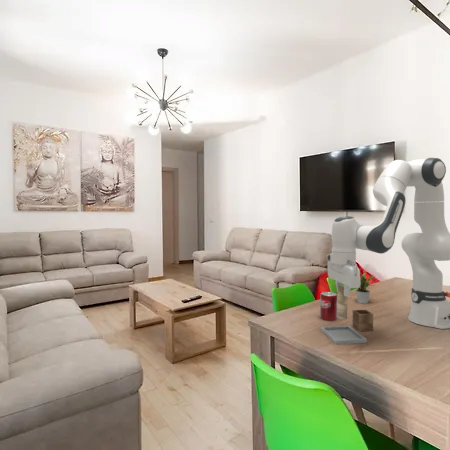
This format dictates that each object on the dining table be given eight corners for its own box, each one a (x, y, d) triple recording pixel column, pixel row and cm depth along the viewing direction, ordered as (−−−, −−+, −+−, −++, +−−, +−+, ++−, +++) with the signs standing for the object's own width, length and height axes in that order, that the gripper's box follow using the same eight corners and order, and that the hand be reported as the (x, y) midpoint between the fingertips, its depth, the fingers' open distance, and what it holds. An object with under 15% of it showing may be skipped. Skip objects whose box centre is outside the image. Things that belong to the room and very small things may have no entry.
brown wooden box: (365, 326, 136) (365, 309, 135) (373, 332, 130) (373, 313, 129) (352, 327, 135) (352, 310, 135) (359, 332, 129) (359, 314, 129)
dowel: (344, 316, 126) (345, 286, 125) (348, 319, 122) (349, 288, 122) (335, 316, 126) (336, 286, 125) (339, 319, 122) (340, 288, 121)
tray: (348, 330, 132) (348, 325, 132) (366, 344, 118) (367, 339, 118) (320, 331, 131) (320, 326, 131) (335, 346, 117) (335, 340, 117)
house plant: (384, 306, 163) (384, 275, 162) (356, 306, 163) (357, 275, 162) (372, 299, 177) (372, 269, 176) (346, 299, 178) (347, 269, 177)
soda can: (326, 323, 140) (326, 296, 139) (317, 318, 147) (317, 292, 146) (340, 321, 142) (340, 295, 141) (330, 316, 149) (331, 291, 148)
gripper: (365, 263, 113) (364, 301, 113) (339, 254, 133) (338, 287, 134) (348, 263, 112) (347, 302, 113) (324, 255, 133) (324, 288, 133)
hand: (342, 294), depth 123 cm, fingers closed on dowel, 4 cm apart
